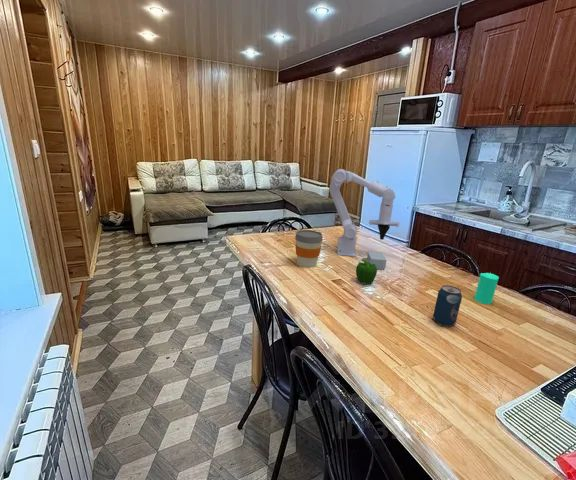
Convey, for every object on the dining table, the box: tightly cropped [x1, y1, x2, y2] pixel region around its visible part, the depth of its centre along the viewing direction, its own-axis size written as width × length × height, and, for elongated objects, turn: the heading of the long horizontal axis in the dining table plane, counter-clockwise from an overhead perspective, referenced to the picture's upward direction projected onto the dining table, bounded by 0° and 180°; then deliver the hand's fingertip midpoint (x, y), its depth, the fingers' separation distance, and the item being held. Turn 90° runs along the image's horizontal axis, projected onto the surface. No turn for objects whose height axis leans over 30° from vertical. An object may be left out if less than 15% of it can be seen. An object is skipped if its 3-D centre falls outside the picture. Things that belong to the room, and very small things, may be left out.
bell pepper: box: [355, 259, 378, 285], centre depth 130 cm, size 8×8×10 cm
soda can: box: [432, 284, 463, 327], centre depth 102 cm, size 7×7×12 cm
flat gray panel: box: [362, 257, 385, 271], centre depth 152 cm, size 8×14×1 cm, turn 175°
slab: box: [366, 251, 387, 269], centre depth 151 cm, size 4×10×7 cm
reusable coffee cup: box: [294, 229, 323, 269], centre depth 145 cm, size 13×13×15 cm
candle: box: [474, 271, 500, 305], centre depth 119 cm, size 6×6×12 cm
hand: (381, 239), depth 159 cm, fingers closed
